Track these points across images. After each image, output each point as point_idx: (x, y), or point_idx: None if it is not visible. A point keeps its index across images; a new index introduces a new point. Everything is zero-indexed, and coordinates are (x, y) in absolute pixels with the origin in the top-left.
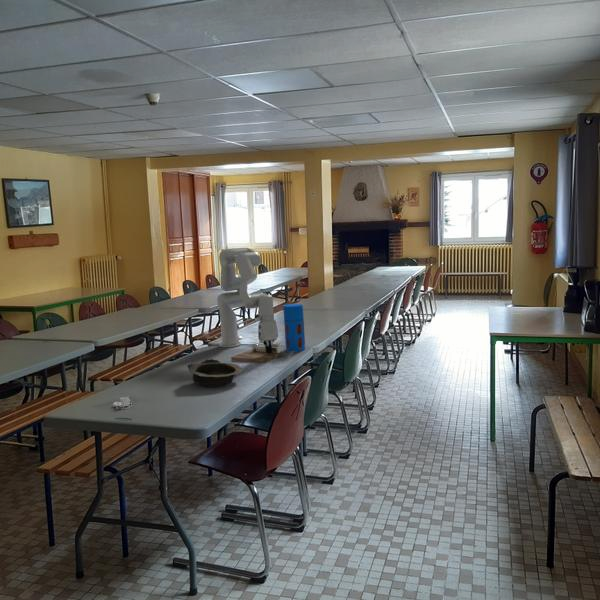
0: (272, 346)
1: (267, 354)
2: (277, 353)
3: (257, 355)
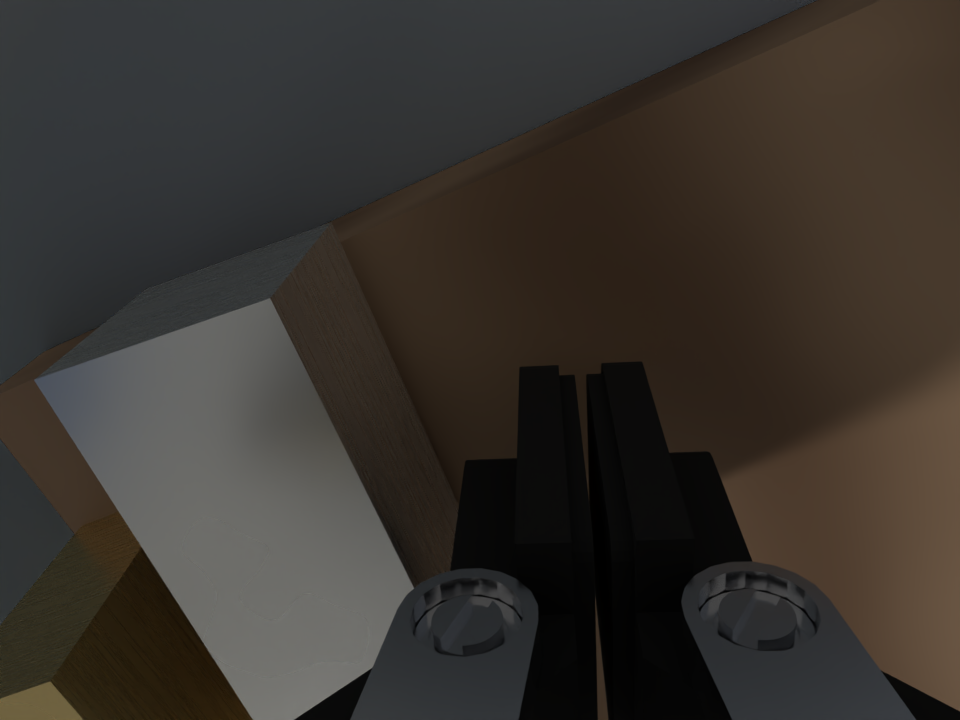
0: (272, 707)
1: None
2: None
3: (943, 560)
